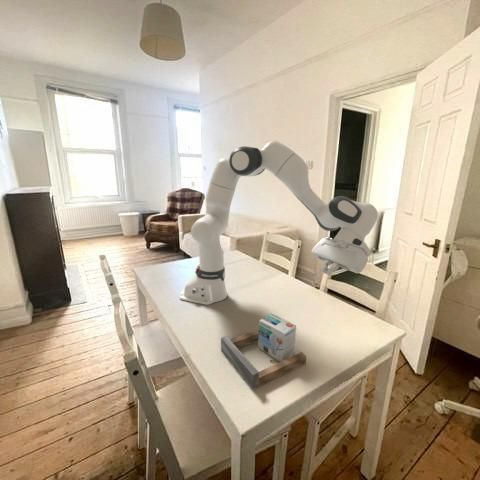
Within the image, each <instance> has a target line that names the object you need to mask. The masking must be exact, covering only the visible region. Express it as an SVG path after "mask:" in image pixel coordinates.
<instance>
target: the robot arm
mask: <svg viewBox="0 0 480 480" xmlns="http://www.w3.org/2000/svg"><path fill="white" fill-rule="evenodd" d="M265 170H268V171H269V172H270V173H271V174H272V175H274V176H275V177H276V178H277V179H279V181H281V182H282V183H283V184H284V185H285V187H287V188H288V189H289V191H290V192H291V193H292V194H293V195H294V196H295V197H296V198H297V199H298V201H299V202H301V204H302V205H304V207H305V208H306V209H307V210H308V211H309V212H310V213H311V214H312V215H313V216H314V218H315V221H316V222H317V224H318V226H319V227H320V228H321V229H323V230H324V231H328V232H333V231H337V230H338V229H340V230H339V231H338V232H337V234H336V235H335V236H334V238H332V237H329V236H327V237H323V238H322V239H321V240H319V241H318V242H317V243H316V245H314V247H313V248H312V249H311V255H312V256H313V257H314V258H316V259H318V260H321V261H324V262H323V267H322V269H321V273H323V274H325V275H327V276H331V275H332V274H333V273H334V272H335V271H337V270H339V269H340V268H342V269H344V270H347V271H350V272H352V273H355V274H360V273H362V272H363V270H364V269H365V268H366V265H367V263H368V261H369V257H371V256H372V252H371V250H370V248H369V246H368V245H367V243H366V242H365V238H366V237H367V236H368V235H369V234H370V233H371V231H372V229H373V228H374V226H375V224H376V222H377V220H378V217H379V214H378V213H379V212H378V210H377V208H376V207H375V206H374V205H373V204H370V203H369V202H359V201H355V200H352V199H351V198H349V197H347V196H343V195H338V196H335V197H333V198H332V199H331V200H330V201H329V202H328V203H325V202H324V201H323V200H322V199H321V198H320V196H319V195H317V194H316V192H315V191H313V189H312V188H311V186H310V180H309V167H308V165H307V163H306V162H305V160H304V159H303V158H302V157H301V156H300V155H299V154H297V153H296V152H295V151H294V150H292V149H291V148H290V147H288V146H287V145H285V144H283V143H282V142H280V141H277V140H271V141H269V142H267V143H266V144H264V145H263V147H262V148H261V149H259V148H257V147H253V146H244V145H243V146H239V147H237V148H235V149H234V150H233V151H232V152H231V153H230V156H229V157H221V158H220V159H219V160H218V161H217V163H216V164H215V166H214V168H213V171H212V174H211V178H210V180H209V184H208V188H207V191H206V192H207V193H206V195H205V202H206V210H205V214H204V216H202V217H200V218H198V219H197V220H196V221H194V223H193V224H192V225H191V228H190V234H191V237H192V239H193V240H194V241H195V243H196V245H197V249H198V255H199V256H198V257H199V264H198V265H197V267H196V268H195V271H194V274H195V275H193V276H192V277H190V278H189V279H188V280H187V281H186V283H185V284H184V288H183V289H182V290H181V291H180V294H179V300H180V301H186V302H190V303H196V304H201V305H212V304H213V303H218V302H221V301H224V300H225V299H226V298H227V297H228V291H227V287H226V283H225V282H226V281H225V278H226V269H225V268H226V267H225V265H224V264H225V261H224V260H225V259H224V256H225V255H224V254H225V252H224V250H223V248H222V245H221V240H220V239H221V236H222V235H223V234H225V232H227V231H226V230H227V229H228V226H229V217H230V211H231V204H232V201H233V197H234V195H235V192H236V188H237V184H238V181H239V179H240V178H241V177H254V176H259V175H261V174H262V173H263V172H264V171H265ZM331 265H332V266H331Z"/></svg>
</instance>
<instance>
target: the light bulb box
mask: <svg viewBox="0 0 480 480" xmlns="http://www.w3.org/2000/svg"><path fill="white" fill-rule="evenodd" d="M258 329H259V339H258V341H257V343H258V344H257V348H258V349H260V350H262V351H263V352H265V354H267V355H269V356H271V357H272V358H273V359H275V360H277V361H279V362H281V361H283V360H285V359H288V358H290V357H292V356H294V355H295V349H296V347H295V346H296V335H297V333H296V332H297V325H296V324H294V323H292V322H291V321H288V320H286V319H284V318H282V317H280V316H278V315H276V314H274V313H272V312H271V313H270V314H268V315H266V316H264V317H263V318H261V319H259V320H258Z"/></svg>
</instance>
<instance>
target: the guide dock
mask: <svg viewBox="0 0 480 480" xmlns="http://www.w3.org/2000/svg"><path fill="white" fill-rule="evenodd" d="M258 339H259V328H258V329H255V330H253V331H250V332H248V333H245V334H241V335H239V336H236V337H233V338H231V339H229V337H228V336H227V335H225V336H222V337H220V351H221V353H222V354H223V355H224V356H225V358H226V359H227V360H228V361H229V363H230V364H231V365H232V366H233V368H234V369H235V370H236V371H237V373H238V374H239V375H240V376H241V377H242V379H243V380H244V381H245V382H246V384H247V385H248V386H249V388H250V389H251V390H252V391H253V390H255V389H258V388H259V387H261V386H263V385H265V384H268V383H270V382H271V381H274V380H275V379H278V378H279V377H281V376H284V375H286V374H288V373H289V372H291V371H294V370H296V369H298V368H300V367H302V366H304V365H306V362H307V361H306V360H307V355H306V354H305V353H304V352H302V351H301V352H299V353H296V354H293V355H292V356H291V357H289V358H288V359H285V360H283V361H281V362H280V361H279V362H277V363H275V364H273V365H271V366H268V367H266V368H264V369H262V370H260V371H259V370H258V369H257V368H256V367H255V366H254V365H253V364H252V362H250V361H249V359H248V358H246V356H245V354H243V353H242V351H240V350H239V349H241V348H243V347H246V346H248V345H251V344H253V343H256V342H258Z"/></svg>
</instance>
